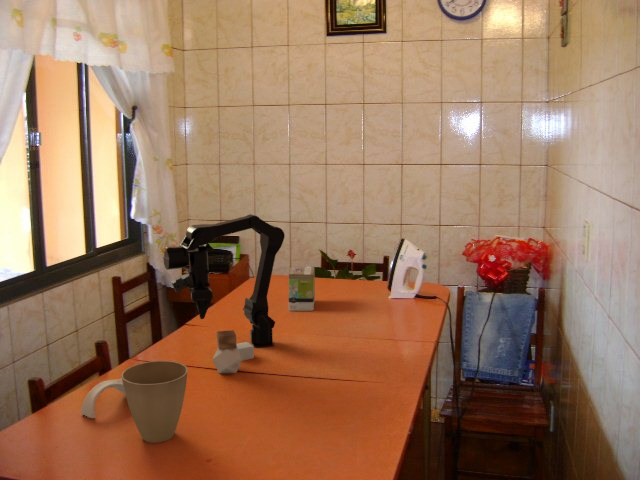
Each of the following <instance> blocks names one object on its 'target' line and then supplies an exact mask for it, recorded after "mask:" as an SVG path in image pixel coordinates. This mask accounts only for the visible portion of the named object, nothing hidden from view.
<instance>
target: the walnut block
mask: <svg viewBox="0 0 640 480" xmlns="http://www.w3.org/2000/svg"><path fill="white" fill-rule="evenodd" d="M216 344H217V349H218V348H219V350H224V349H235V348H236V344H237V334H236V332H235V330H234V329H231V330H220V331H216Z"/></svg>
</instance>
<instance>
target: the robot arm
mask: <svg viewBox="0 0 640 480" xmlns="http://www.w3.org/2000/svg"><path fill="white" fill-rule="evenodd" d="M251 229H252V230H253V231H254V232H255V233H257V234H258V235H259V244H260V250H261V252H260V257H259V264H258V268H257V272H256V278H255V281H254V287H253V290H252V291H253V292H252V294H251V296H250V298H248V297H245V300H244V306H243V308H242V311H243V312H244V313H243V314H244V316H245V318H246V319H247V320H248V321H249V323H250V325H251V329H250V331H249V332H250V344H251V345H252V346H254V348H260V347H270V346H271V347H272V346H274V342H273V329H274V327H275V324H276V321H275V320H274V318H272V317H270V316H269V302H268V294H269V288H270V284H271V278H272V275H273V274H272V273H273V269H274V265H275V260H276V256H277V253H278V252H279V251H280V249H281V247H282V245H283V243H284V239H285V232H284V230H283V229H282V228H281V227H278V226H275V225H271V224H270V223H267V222H266V221H264V220H263V219H261V218H260V217H259V216H257V215H255V214H247V215H245V216H242V217H237V218H234V219H233V218H232V219H230V220H225V221H221V222H217V223H212V224H210V223H209V224H207V223H206V224H205V223H202V224H192V225H190V226H189V227H188V228H187V229H186V231H185V236H184V238H183V239H182V241H181V242H180V244H179V246H166V247H165V248H164V249H165V251H164V254H163V257H162V258H163V265H164V269H165V270H166V271H168V270H178V269H186V268H187V266H189V268H188V270H187V271H188V273H185V274H182V275H180V276H178V277H175V278H173V279H172V280H171V281H170V282H171V285H172V287H173V289H174V292H175V293H178V292H180V291H182V290H184V289H186V288H188V290H189V292H190V295H191V296H190V298H191V300H192V301H191V302H193V303H195V304H196V308H197V312H198V314H199V318H200V320H204V319H205V317H206V314H207V312H208V309H209V307H210V305H211V302H212V301H213V298H214V297H213V296H214V294H213V291H212V289H211V288H210V286H211V285H210V281H209V280H210V279H209V278H210V277H209V276H210V275H209V274H210V269H209V257H208V256H209V255H208V252H214V251H215V248H213V247H212V246H211V245H210V243H212V242H214V241H215V240H216V239H218V238H220V237H223V236H227V235H231V234H234V233H238V232H239V233H240V232H243V231H247V230H251Z"/></svg>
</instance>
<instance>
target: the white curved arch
mask: <svg viewBox="0 0 640 480" xmlns="http://www.w3.org/2000/svg"><path fill="white" fill-rule="evenodd" d="M110 388H114V389H115V390H117V391H119V392H120V393H122V394H123V395H124V396H126V395H125V390H124V386H123V381H122V378H118V379H108V380H104V381H101V382H99V383H97V384H96V385H94V386H93V388H92V389H90V391H89V392H88V393H87V394H86V396H85V397H84V400H83V402H82V406H81V410H80V413H81V415H82V416H83V415H85V416H84V417H86V416H87V417H86V418H89V419H95V418H96V413H95V412H96V411H95V410H96V409H95V408H96V402H97V399H98V397H100V395H101V394H102V393H103V392H104V391H105V390H107V389H110Z"/></svg>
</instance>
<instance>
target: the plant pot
mask: <svg viewBox="0 0 640 480" xmlns="http://www.w3.org/2000/svg"><path fill="white" fill-rule="evenodd" d="M121 379H122V381H123V386H124V390H125V395H124V396H125V398H126V401H127V405H128V408H129V411H130V413H131V416H132V419H133V422H134V424H135V426H136V429H137V431H138V433H139V435H140V436H141V438H142V440H143V441H145V442H147V443H153V444H155V443H164V442H166V441H169V440H171V439H172V438H173V437H174V435H175V432H176V430H177V427H178V424H179V422H180V421H179V420H180V417H181V413H182V409H183V406H184V405H183V404H184V401H185V394H186V388H187V380H188V367H187V366H186V365H185V364H183V363H180V362H177V361H172V360H154V361H153V360H151V361H146V362H141V363H140V362H139V363H138V364H133V365H132V366H130V367H129V366H128V368H126V369H124V370H123V371H122V373H121Z"/></svg>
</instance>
